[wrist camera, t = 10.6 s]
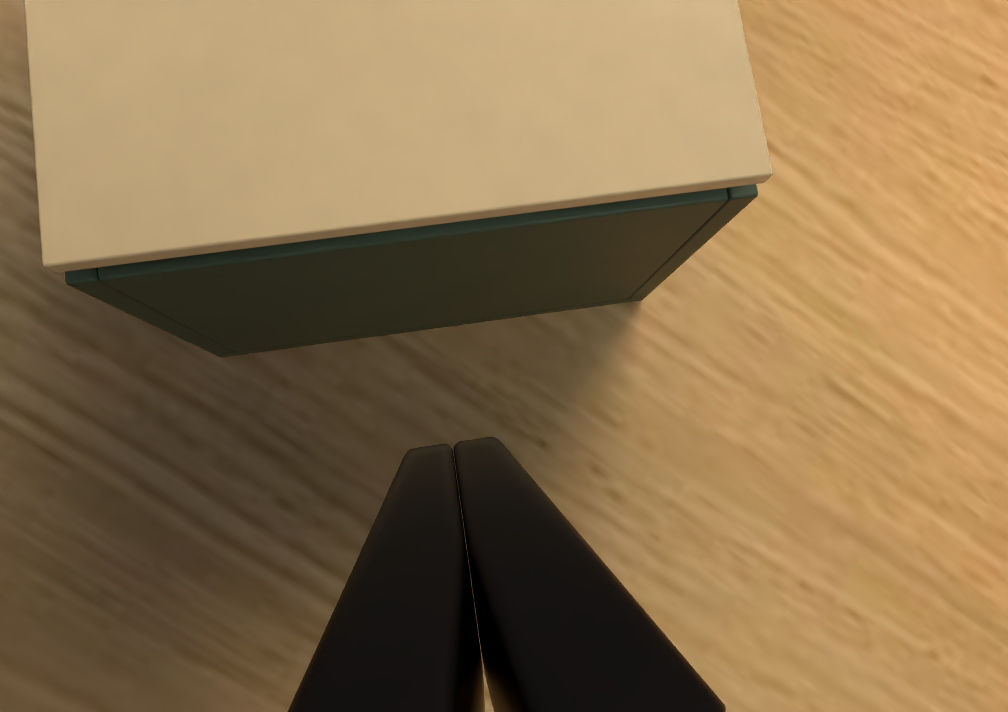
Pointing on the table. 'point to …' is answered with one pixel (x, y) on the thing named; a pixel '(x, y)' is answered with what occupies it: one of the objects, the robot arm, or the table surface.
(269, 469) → the table surface
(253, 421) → the table surface
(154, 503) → the table surface
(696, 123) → the flap
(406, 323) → the box
